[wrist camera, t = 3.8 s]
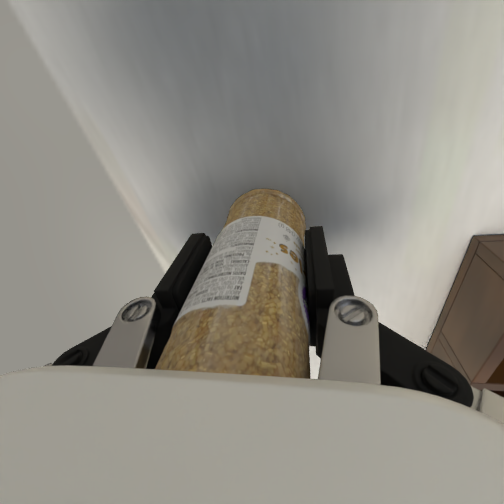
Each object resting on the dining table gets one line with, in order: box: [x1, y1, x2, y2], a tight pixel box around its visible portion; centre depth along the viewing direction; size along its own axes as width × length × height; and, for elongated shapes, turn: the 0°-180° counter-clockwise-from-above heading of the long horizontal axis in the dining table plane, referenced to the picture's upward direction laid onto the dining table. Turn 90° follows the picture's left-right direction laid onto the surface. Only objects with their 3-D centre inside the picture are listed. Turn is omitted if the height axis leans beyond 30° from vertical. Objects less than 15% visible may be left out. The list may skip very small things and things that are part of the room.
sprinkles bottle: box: [155, 189, 310, 379], centre depth 9 cm, size 5×5×13 cm
